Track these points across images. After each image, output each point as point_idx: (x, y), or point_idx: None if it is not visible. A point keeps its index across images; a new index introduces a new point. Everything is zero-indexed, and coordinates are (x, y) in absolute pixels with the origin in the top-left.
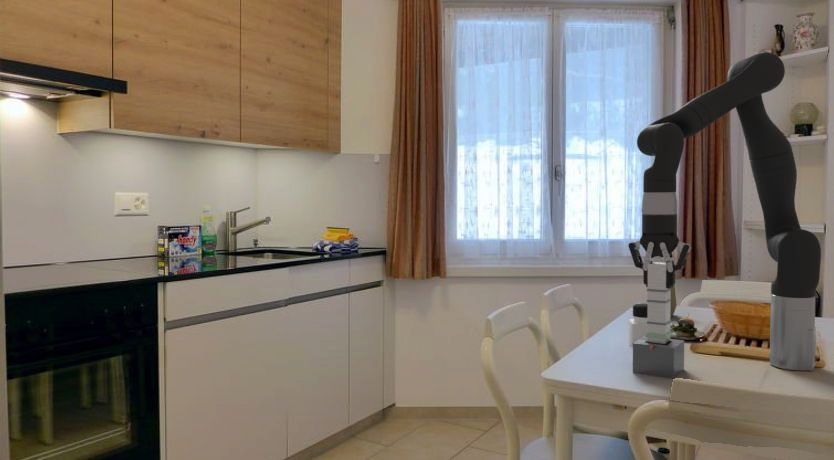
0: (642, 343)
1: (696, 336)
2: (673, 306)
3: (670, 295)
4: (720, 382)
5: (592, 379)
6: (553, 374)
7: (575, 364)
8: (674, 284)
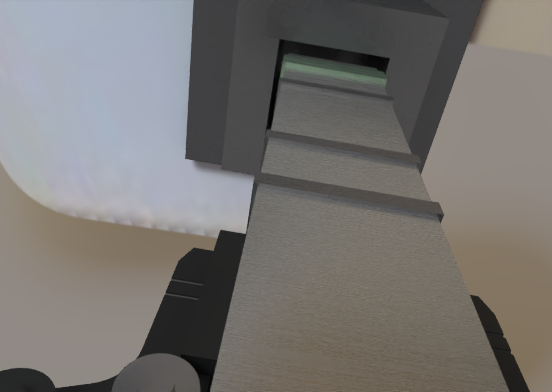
0: (259, 160)
1: None
2: None
3: (422, 180)
4: (539, 53)
5: (138, 176)
6: (19, 168)
7: (8, 14)
8: (482, 313)
